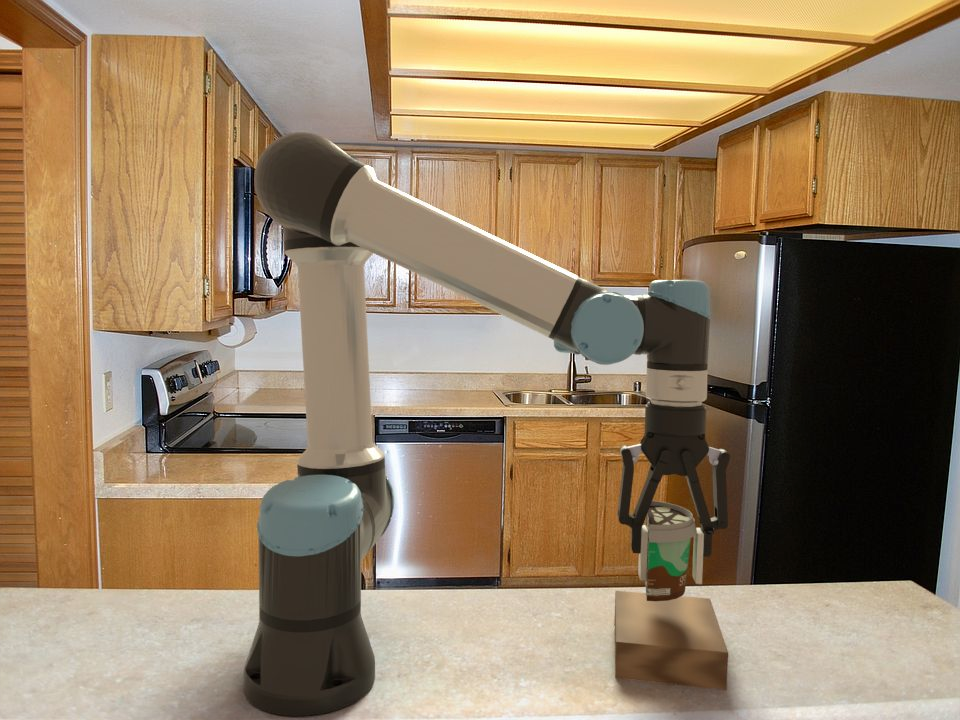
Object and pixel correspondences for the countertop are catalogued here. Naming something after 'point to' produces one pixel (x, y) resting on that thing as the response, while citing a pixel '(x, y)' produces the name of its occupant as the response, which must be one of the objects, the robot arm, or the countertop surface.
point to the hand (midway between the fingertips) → (669, 578)
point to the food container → (667, 550)
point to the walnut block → (669, 641)
